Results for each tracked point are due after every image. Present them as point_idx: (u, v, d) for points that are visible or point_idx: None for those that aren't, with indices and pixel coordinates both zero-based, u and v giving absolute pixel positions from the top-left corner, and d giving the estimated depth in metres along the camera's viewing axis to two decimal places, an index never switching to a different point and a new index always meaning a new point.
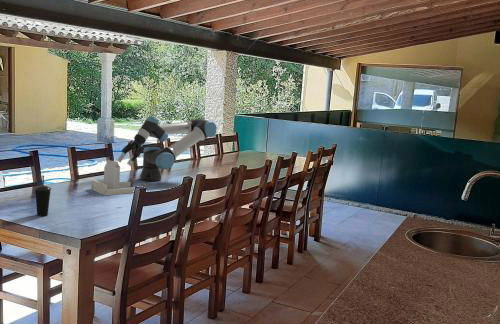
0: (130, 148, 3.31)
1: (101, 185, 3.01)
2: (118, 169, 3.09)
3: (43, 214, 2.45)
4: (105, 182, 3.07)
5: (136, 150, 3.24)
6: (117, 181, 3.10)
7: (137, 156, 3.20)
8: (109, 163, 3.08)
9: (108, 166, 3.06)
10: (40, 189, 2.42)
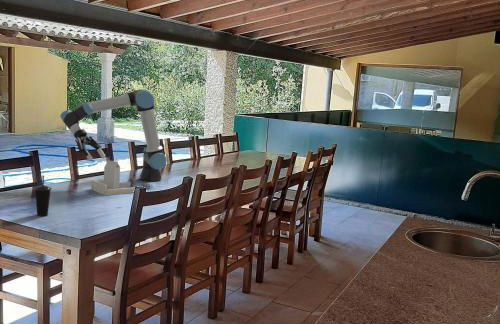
0: (91, 144, 3.16)
1: (101, 185, 3.01)
2: (118, 169, 3.09)
3: (43, 214, 2.45)
4: (105, 182, 3.07)
5: (82, 146, 3.07)
6: (117, 181, 3.10)
7: (81, 150, 3.03)
8: (109, 163, 3.08)
9: (108, 166, 3.06)
10: (40, 189, 2.42)
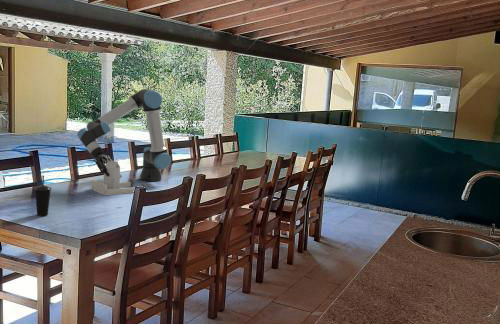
0: None
1: (101, 185, 3.01)
2: (118, 169, 3.09)
3: (43, 214, 2.45)
4: (105, 182, 3.07)
5: (101, 166, 3.06)
6: (117, 181, 3.10)
7: (103, 170, 3.03)
8: (109, 163, 3.08)
9: (108, 166, 3.06)
10: (40, 189, 2.42)
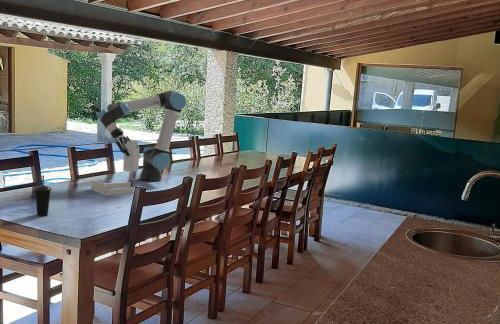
0: None
1: (101, 185, 3.01)
2: (138, 149, 3.16)
3: (43, 214, 2.45)
4: (125, 162, 3.14)
5: None
6: (136, 161, 3.17)
7: (123, 150, 3.10)
8: (129, 143, 3.15)
9: (128, 146, 3.13)
10: (40, 189, 2.42)
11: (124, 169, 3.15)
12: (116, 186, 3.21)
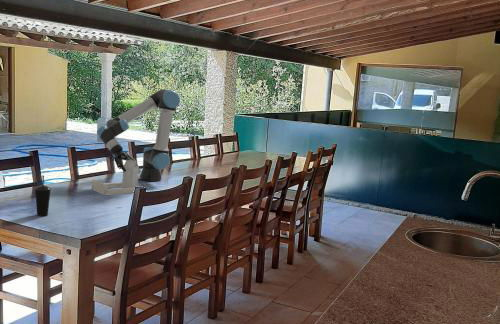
0: (127, 159, 3.22)
1: (101, 185, 3.01)
2: (136, 168, 3.18)
3: (43, 214, 2.45)
4: (124, 181, 3.16)
5: None
6: (135, 180, 3.18)
7: (120, 166, 3.09)
8: (128, 162, 3.16)
9: (127, 165, 3.15)
10: (40, 189, 2.42)
11: None
12: (116, 186, 3.21)
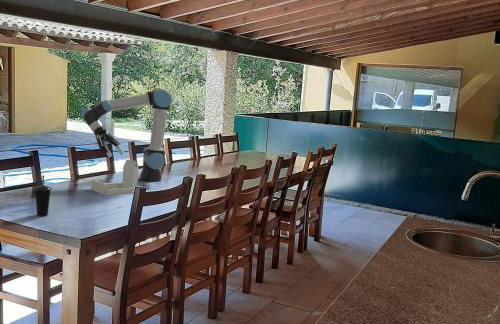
0: (110, 141, 3.25)
1: (101, 185, 3.01)
2: (136, 168, 3.18)
3: (43, 214, 2.45)
4: (124, 181, 3.16)
5: (101, 143, 3.16)
6: (135, 180, 3.18)
7: (102, 147, 3.12)
8: (128, 162, 3.16)
9: (127, 165, 3.15)
10: (40, 189, 2.42)
11: None
12: (116, 186, 3.21)
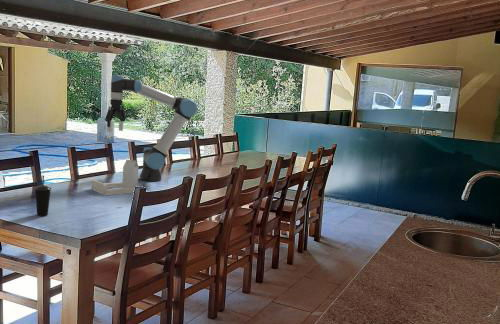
0: (119, 114, 3.32)
1: (101, 185, 3.01)
2: (136, 168, 3.18)
3: (43, 214, 2.45)
4: (124, 181, 3.16)
5: None
6: (135, 180, 3.18)
7: (107, 121, 3.20)
8: (128, 162, 3.16)
9: (127, 165, 3.15)
10: (40, 189, 2.42)
11: None
12: (116, 186, 3.21)
